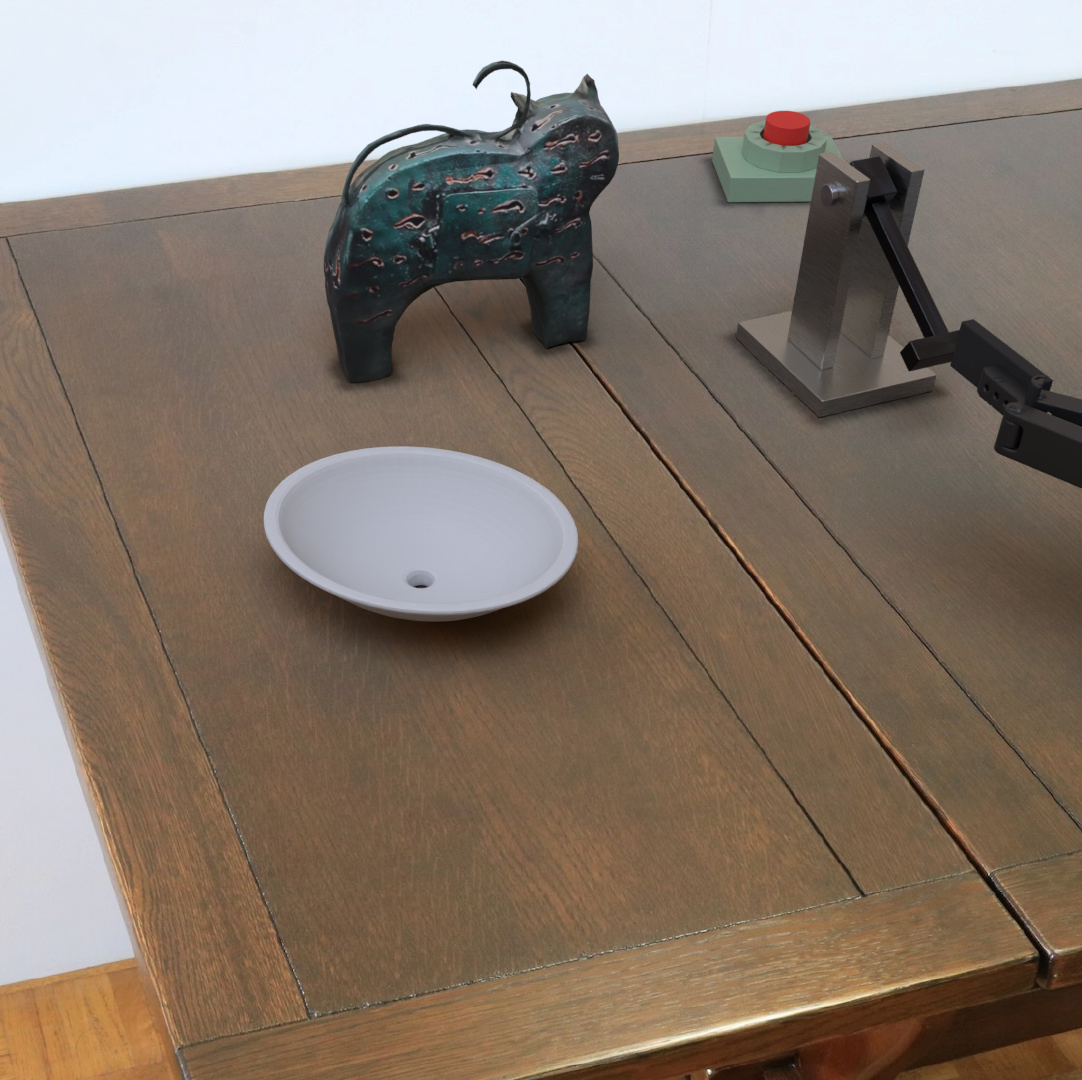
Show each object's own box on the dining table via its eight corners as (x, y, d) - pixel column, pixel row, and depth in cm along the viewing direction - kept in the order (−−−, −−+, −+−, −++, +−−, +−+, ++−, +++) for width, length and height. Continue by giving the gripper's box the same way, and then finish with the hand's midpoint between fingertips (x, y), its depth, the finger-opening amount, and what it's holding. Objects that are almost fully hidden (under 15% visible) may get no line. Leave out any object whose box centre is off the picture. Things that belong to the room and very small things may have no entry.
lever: (971, 360, 95) (991, 341, 93) (904, 376, 94) (923, 356, 92) (882, 175, 99) (898, 152, 97) (816, 187, 98) (832, 164, 96)
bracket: (932, 391, 103) (983, 185, 93) (819, 418, 100) (859, 209, 91) (843, 314, 111) (881, 117, 101) (735, 337, 108) (764, 137, 98)
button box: (827, 160, 131) (835, 115, 128) (848, 201, 125) (857, 155, 122) (711, 161, 130) (717, 115, 128) (727, 202, 124) (733, 156, 122)
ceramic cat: (583, 307, 111) (602, 32, 98) (620, 351, 106) (645, 68, 93) (321, 354, 106) (304, 69, 93) (348, 402, 101) (334, 109, 88)
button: (802, 130, 127) (805, 110, 125) (811, 148, 124) (814, 128, 123) (759, 130, 126) (762, 110, 125) (767, 149, 124) (770, 128, 123)
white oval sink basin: (223, 633, 84) (214, 563, 80) (331, 489, 94) (327, 421, 90) (526, 714, 79) (530, 643, 76) (605, 553, 89) (611, 484, 86)
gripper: (1127, 671, 67) (858, 422, 82) (1531, 546, 75) (1218, 338, 89) (1182, 537, 62) (886, 298, 77) (1609, 417, 70) (1264, 220, 84)
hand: (1063, 319), depth 83 cm, fingers open, 13 cm apart
